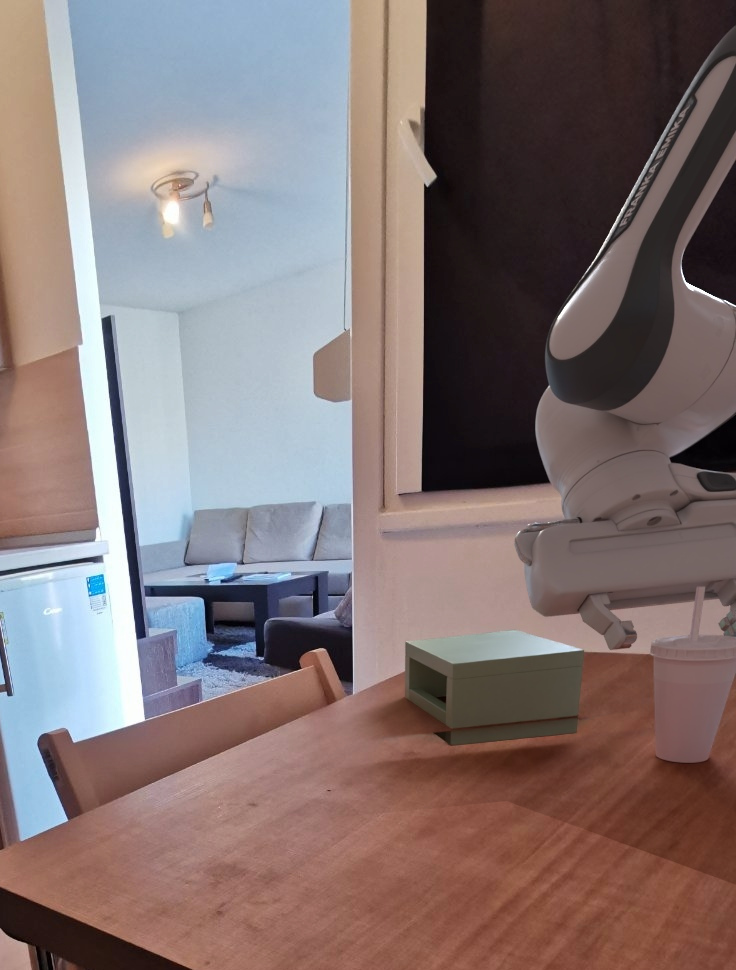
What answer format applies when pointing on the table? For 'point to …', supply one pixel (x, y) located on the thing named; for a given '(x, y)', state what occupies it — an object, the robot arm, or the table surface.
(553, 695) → the shelf
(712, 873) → the table surface
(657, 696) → the smoothie
